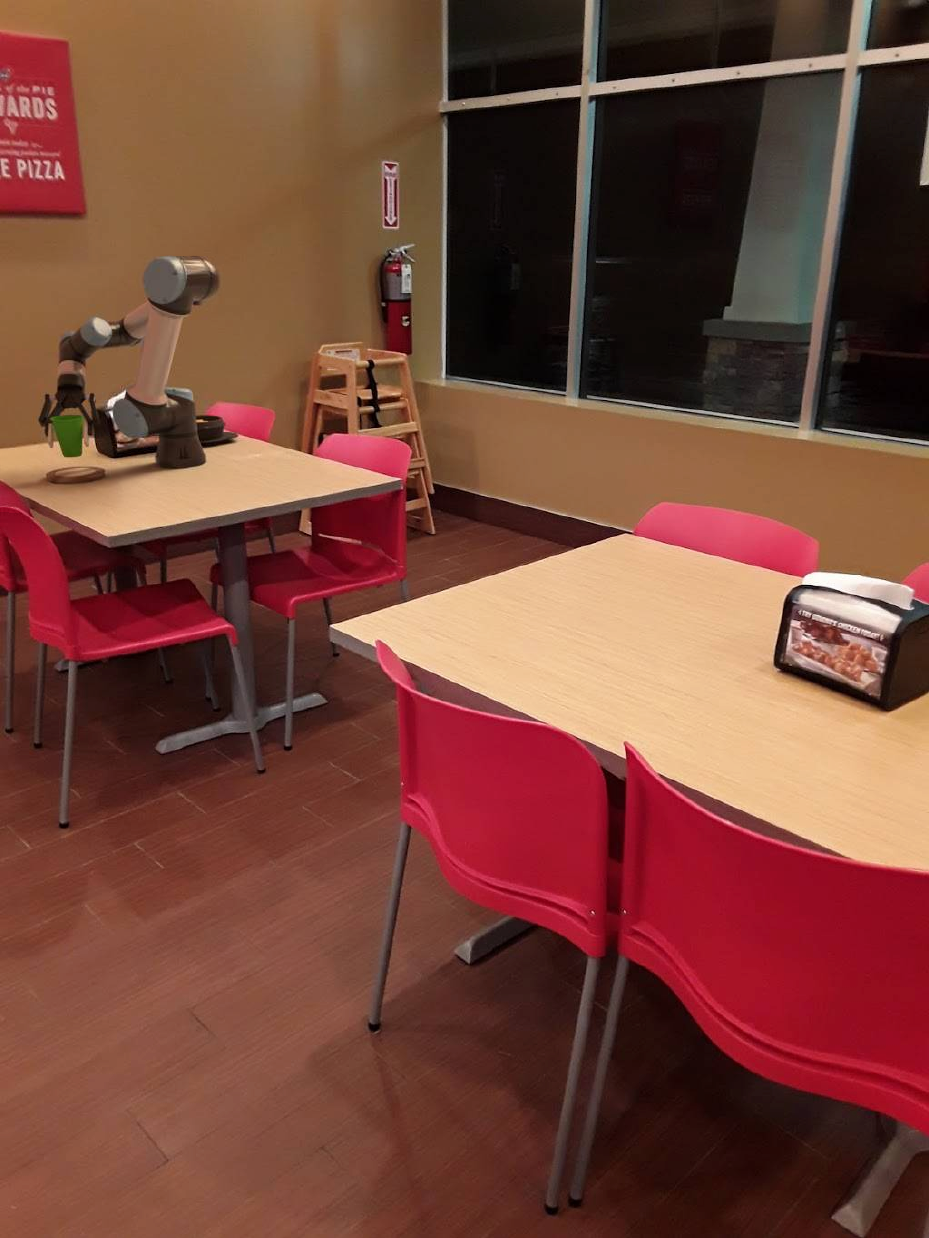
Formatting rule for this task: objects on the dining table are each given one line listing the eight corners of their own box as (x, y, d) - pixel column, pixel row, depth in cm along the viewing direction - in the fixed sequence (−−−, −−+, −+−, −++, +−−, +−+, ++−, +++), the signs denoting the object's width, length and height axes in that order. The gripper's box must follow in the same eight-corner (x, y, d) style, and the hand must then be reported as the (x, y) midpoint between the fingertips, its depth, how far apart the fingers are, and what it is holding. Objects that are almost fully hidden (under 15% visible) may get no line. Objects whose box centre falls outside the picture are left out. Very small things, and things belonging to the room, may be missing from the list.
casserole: (172, 451, 310) (169, 426, 307) (158, 442, 325) (155, 417, 321) (246, 444, 321) (244, 419, 318) (229, 435, 336) (227, 411, 333)
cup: (94, 452, 276) (89, 415, 272) (80, 459, 268) (74, 420, 264) (65, 452, 277) (59, 414, 273) (50, 458, 268) (43, 420, 264)
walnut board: (117, 473, 279) (116, 468, 278) (79, 485, 265) (78, 480, 264) (73, 469, 284) (72, 464, 283) (34, 481, 270) (33, 475, 269)
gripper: (112, 387, 282) (111, 451, 273) (36, 389, 278) (31, 453, 269) (107, 371, 275) (105, 436, 266) (28, 373, 271) (24, 438, 263)
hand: (68, 444), depth 268 cm, fingers closed on cup, 9 cm apart
